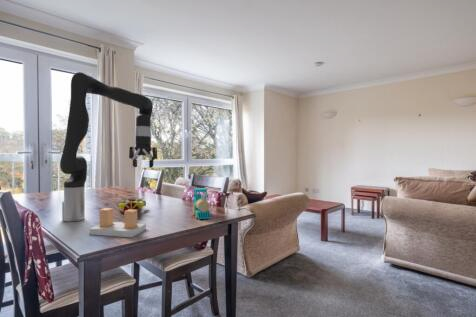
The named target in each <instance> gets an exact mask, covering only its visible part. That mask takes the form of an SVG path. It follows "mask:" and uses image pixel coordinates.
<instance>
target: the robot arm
mask: <svg viewBox="0 0 476 317" xmlns="http://www.w3.org/2000/svg"><path fill="white" fill-rule="evenodd" d="M87 94H92V95H97V96H102V97H104V98H105V97H106V98H107V99H110V100H112V101H114V102H117V103H120V104H123V105H127V106H131V107H133V108H136V109H138V115H136V118H135V139H134V142H135V146H130V147H129V150H128V151H129V152H128V153H129V154H128V158H129V159H131V160H132V166H133V168H137V167H138V160H137V159H138V158H139V157H141V156H143V157H144V156H146V157H147V158H148V159H149V161H148V164H149V165H148V168H150V169H151V168H153V167H154V161H155V160H156V159H158V148H157V147H156V146H154V147H152V129H151V126H152V125H151V123H152V122H151V120H152V119H151V117H152V114H153V102H152V100H151V99H150V98H149V97H147V96H146V95H143V94H140V93H135V92H132V91H130V90H127V89H124V88H122V87H117V86H112V85H109V84H106V83H104V82H102V81H100V80H98V79H96V78H94V77H93V76H91V75H89V74H87V73H85V72H80V71H78V72H76V73H74V74H73V75H72V77H71V81H70V101H69V102H70V103H69V111H68V117H67V118H68V119H67V123H66V124H67V125H66V134H65V140H64V146H63V149H62V154H61V158H60V163H59V168H60V171H61V172H62V174H64V175H65V174H66V175H70V176H69V178H68V179H65V181H64V183H63V201H62V202H61V206H62V207H61V212H62V214H61V218H62V219H61V220H62V221H64V222H69V223H70V222H71V223H72V222H78V221H79V222H80V221H83V220H85V217H86V216H85V212H86V211H85V210H86V209H85V208H86V207H85V206H86V205H85V204H86V203H85V202H86V201H85V200H86V199H85V197H86V196H85V194H86V192H85V189H86V188H85V186H86V181H87V175H88V163H87V160H86V158H85V157H84V156H81V155H77V154H78V149H79V146H80V145H81V143H82V142H83V141H84V139H85V138H86V136H87V134H88V131H89V125H90V116H89V112H88V108H87V103H86V100H87ZM151 151H152V153H151Z"/></svg>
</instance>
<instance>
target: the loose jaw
mask: <svg viewBox="0 0 476 317" xmlns="http://www.w3.org/2000/svg"><path fill="white" fill-rule="evenodd" d="M123 213H124V214H123V215H124V216H123V217H124V222H123V223H124V229H135V228H137V223H138V215H137V213H138V212H137V210H133V209H129V210H126V211H124V210H123Z"/></svg>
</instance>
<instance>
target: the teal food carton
mask: <svg viewBox="0 0 476 317" xmlns="http://www.w3.org/2000/svg"><path fill="white" fill-rule="evenodd" d="M207 191H208V189H206V188H205V187H198V188H197V187H194V188H193V204H192V215H193V216H194V217H195V219H196V218H197V219H198V220H201V219H202V220H203V219H204V220H205V219H211V212H210V202H208V201H207V200H208V199H207V198H208V197H207V196H208V192H207Z"/></svg>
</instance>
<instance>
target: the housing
mask: <svg viewBox="0 0 476 317" xmlns="http://www.w3.org/2000/svg"><path fill="white" fill-rule="evenodd" d="M146 229H147V224H146V223H138V222H137V228H135V229H124V222H120V221H113V226H110V227H100V223H99V224H98V225H95V226H93V227H90V228H89V235H93V236H96V235H97V236H106V237H107V236H110V237H121V238H133V237H135V236H136V235H139V234H140V233H142V232H144V231H145V230H146Z"/></svg>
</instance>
